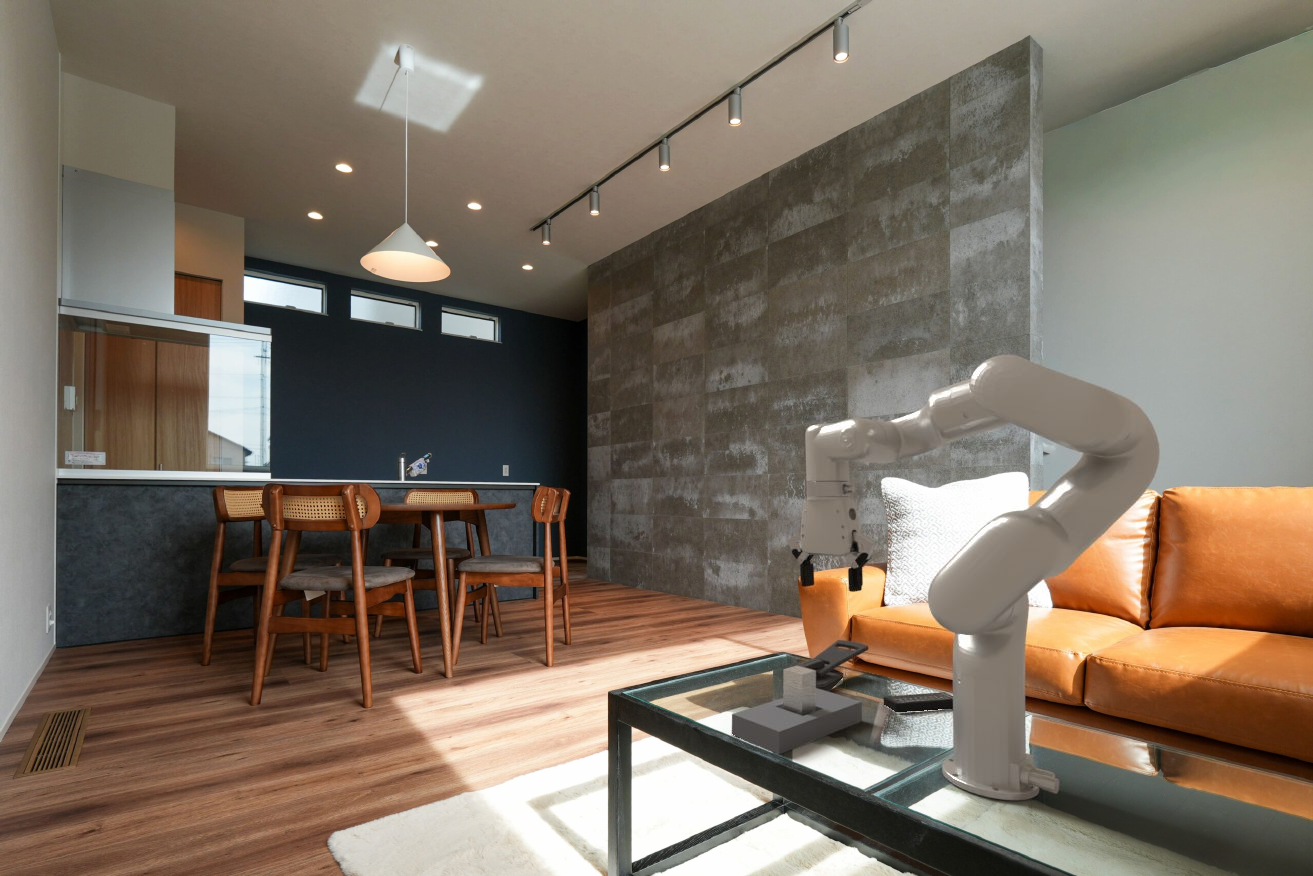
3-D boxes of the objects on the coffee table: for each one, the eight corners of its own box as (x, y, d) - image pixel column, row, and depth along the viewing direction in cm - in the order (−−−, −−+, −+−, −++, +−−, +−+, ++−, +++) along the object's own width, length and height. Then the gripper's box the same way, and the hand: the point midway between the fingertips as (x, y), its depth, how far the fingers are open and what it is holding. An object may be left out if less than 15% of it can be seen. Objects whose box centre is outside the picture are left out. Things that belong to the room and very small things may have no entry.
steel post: (815, 729, 114) (815, 670, 115) (801, 734, 111) (802, 674, 112) (796, 722, 117) (797, 665, 118) (782, 727, 114) (783, 669, 115)
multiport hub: (882, 708, 127) (882, 696, 127) (944, 703, 131) (944, 691, 131) (897, 716, 123) (897, 703, 123) (960, 710, 127) (960, 698, 127)
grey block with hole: (861, 721, 118) (861, 701, 118) (779, 754, 102) (779, 731, 103) (815, 706, 126) (815, 687, 126) (731, 735, 110) (732, 714, 110)
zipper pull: (872, 645, 150) (816, 664, 132) (872, 674, 149) (816, 698, 131) (837, 638, 156) (778, 656, 138) (837, 666, 155) (778, 688, 137)
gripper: (882, 491, 114) (886, 591, 112) (799, 493, 127) (802, 582, 125) (860, 491, 109) (864, 595, 107) (776, 492, 121) (778, 586, 120)
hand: (830, 588), depth 116 cm, fingers open, 9 cm apart
